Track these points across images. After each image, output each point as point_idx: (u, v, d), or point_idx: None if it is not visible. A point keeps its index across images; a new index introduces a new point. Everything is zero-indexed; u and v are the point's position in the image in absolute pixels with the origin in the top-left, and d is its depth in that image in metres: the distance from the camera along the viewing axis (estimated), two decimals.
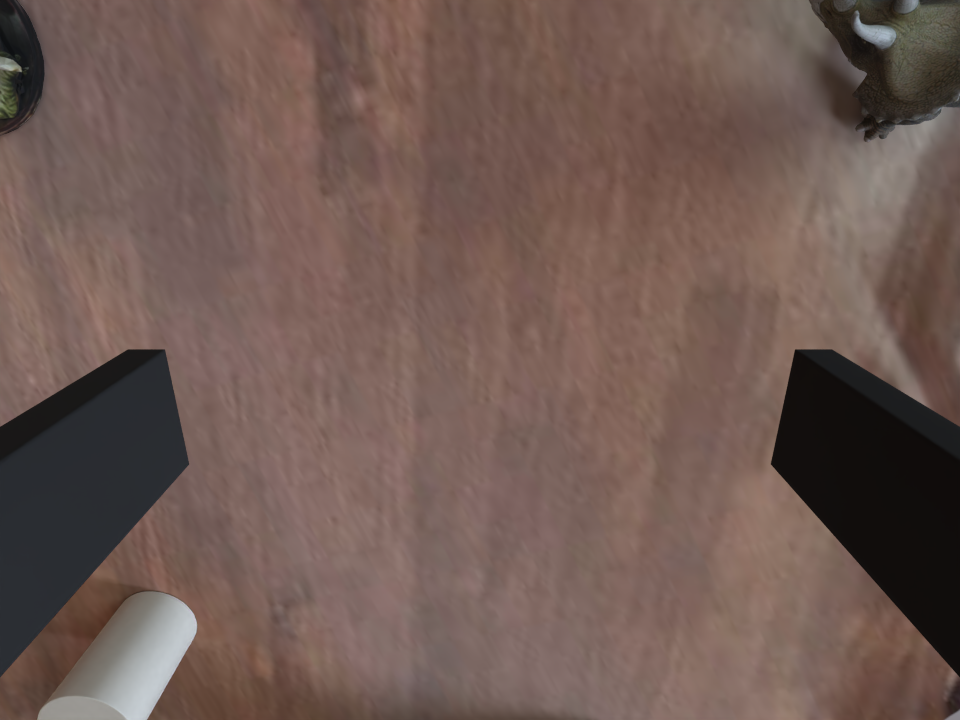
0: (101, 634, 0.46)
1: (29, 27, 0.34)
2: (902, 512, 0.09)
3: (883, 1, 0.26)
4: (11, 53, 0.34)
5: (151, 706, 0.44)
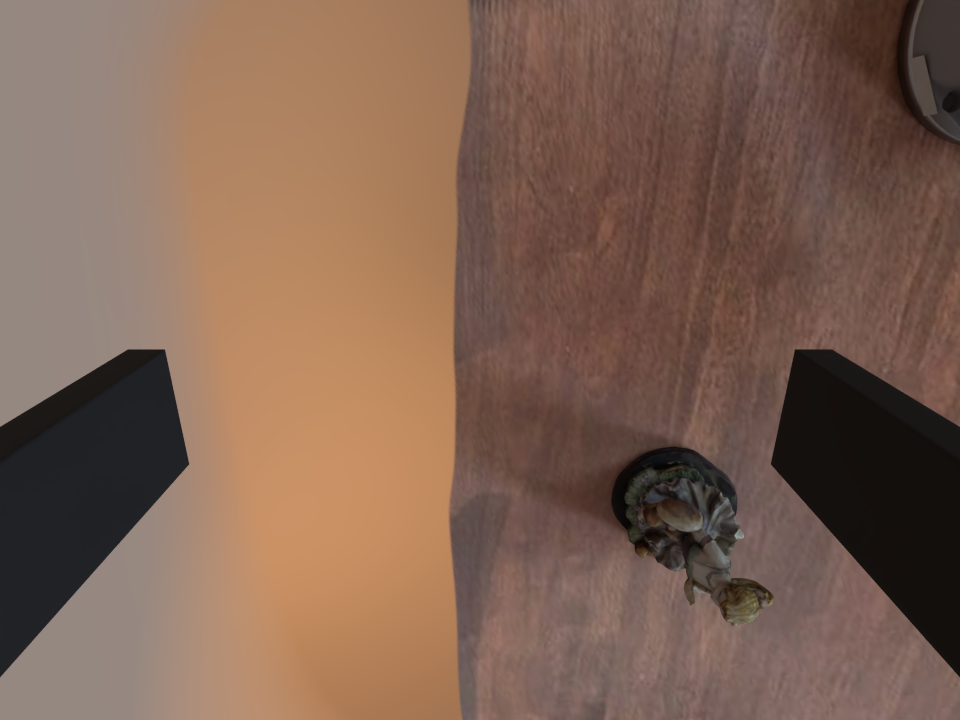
0: None
1: (736, 499, 0.53)
2: (901, 512, 0.09)
3: None
4: None
5: None
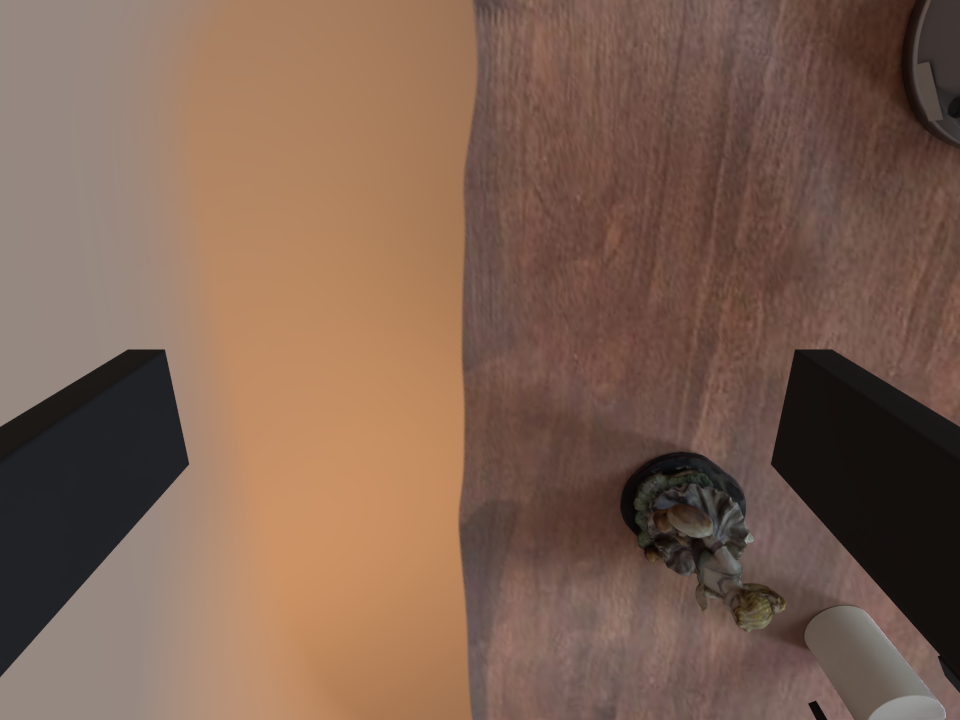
0: (873, 639, 0.54)
1: (745, 503, 0.53)
2: (900, 512, 0.09)
3: None
4: None
5: None
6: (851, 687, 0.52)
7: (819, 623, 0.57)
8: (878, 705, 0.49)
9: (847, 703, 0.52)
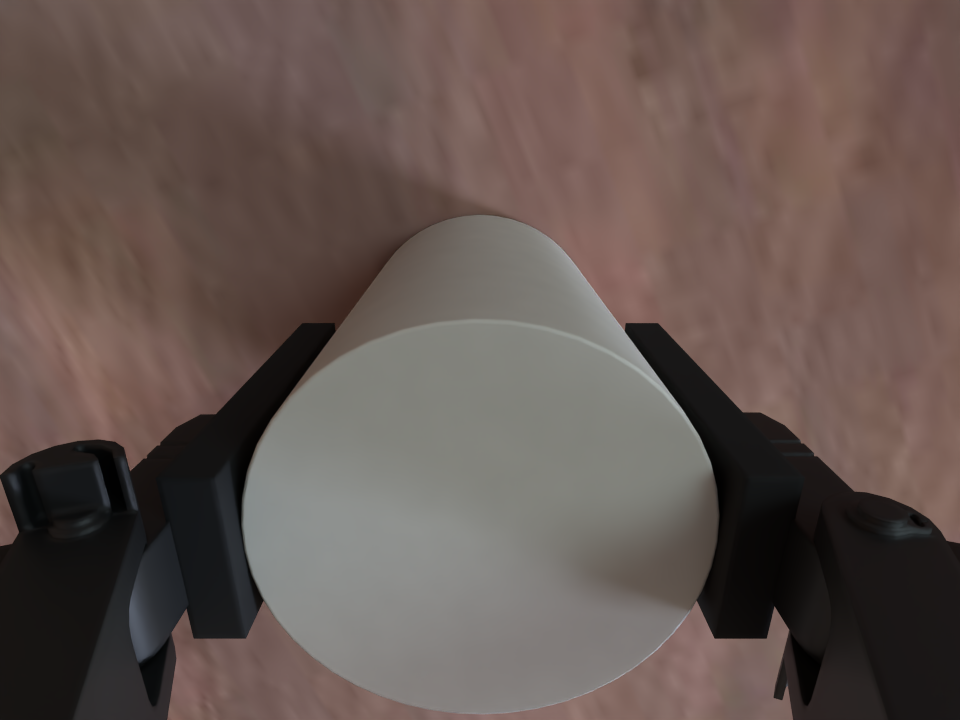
0: (486, 239, 0.12)
1: None
2: None
3: None
4: None
5: None
6: None
7: None
8: (273, 416, 0.08)
9: None
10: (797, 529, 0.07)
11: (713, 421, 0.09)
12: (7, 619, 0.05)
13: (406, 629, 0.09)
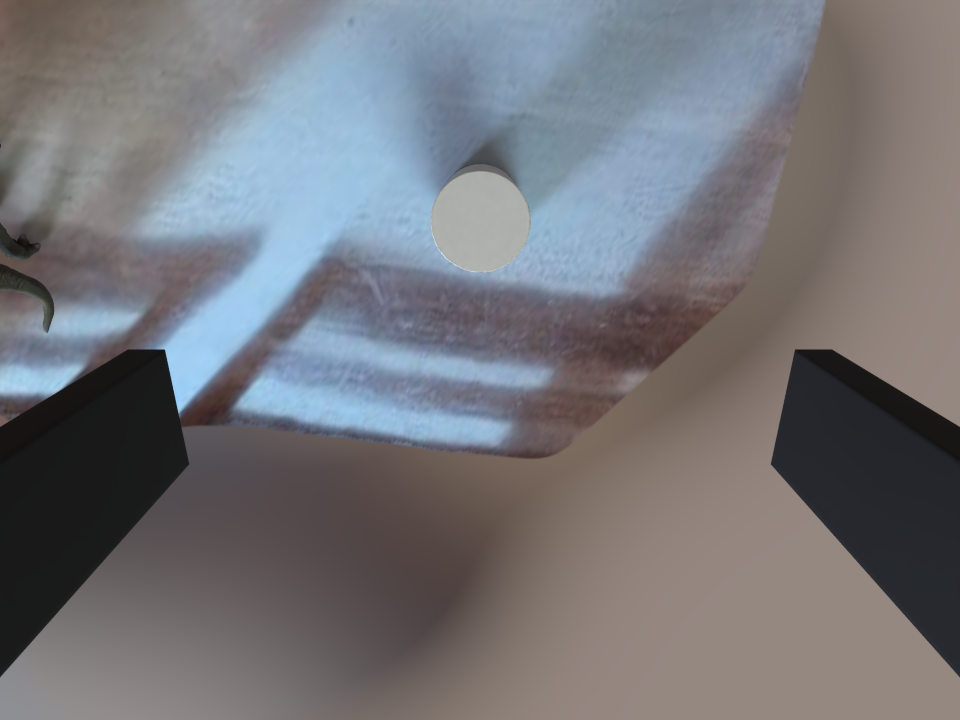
0: (482, 166, 0.43)
1: None
2: (902, 512, 0.09)
3: None
4: None
5: None
6: None
7: None
8: None
9: None
10: None
11: None
12: None
13: (464, 245, 0.40)
